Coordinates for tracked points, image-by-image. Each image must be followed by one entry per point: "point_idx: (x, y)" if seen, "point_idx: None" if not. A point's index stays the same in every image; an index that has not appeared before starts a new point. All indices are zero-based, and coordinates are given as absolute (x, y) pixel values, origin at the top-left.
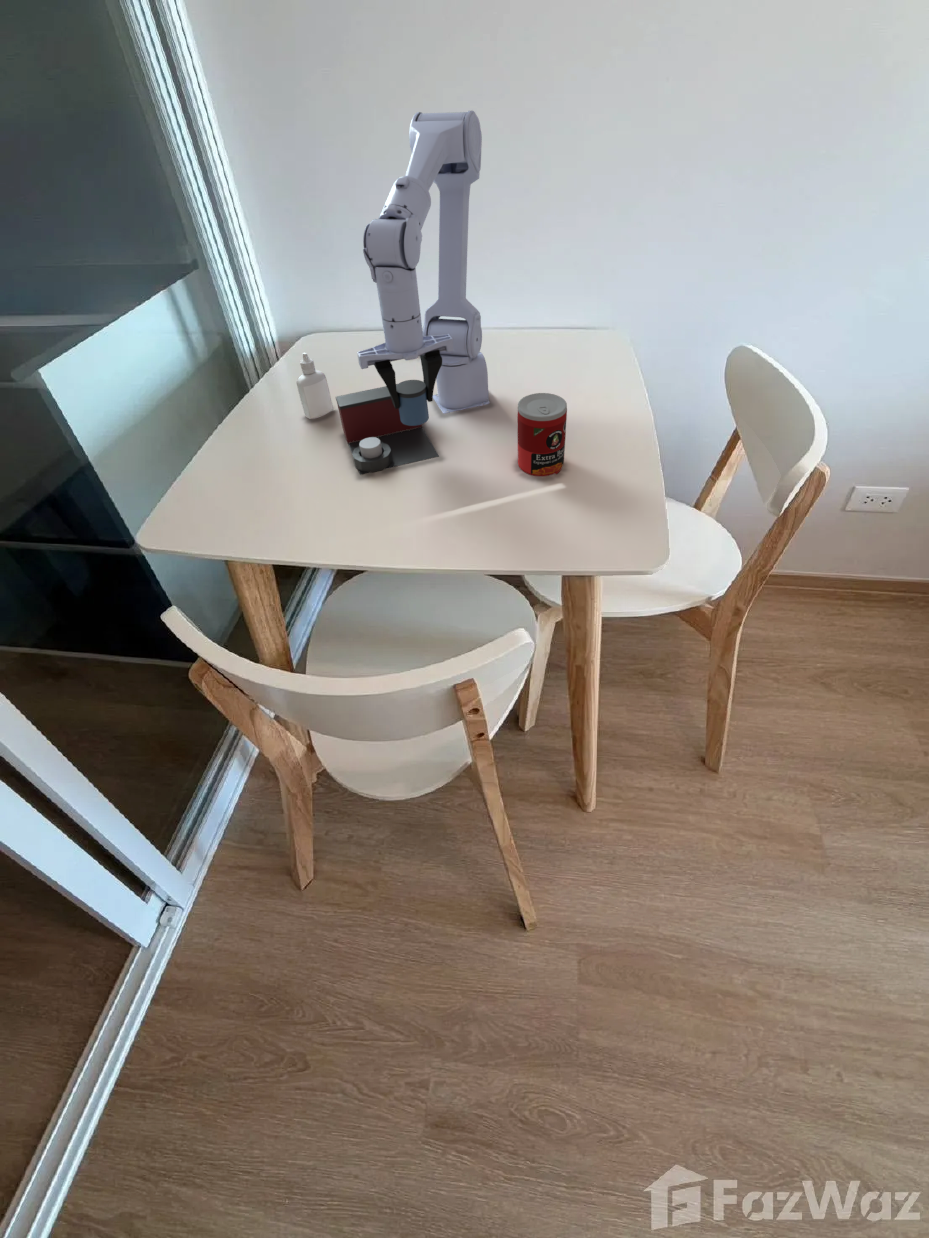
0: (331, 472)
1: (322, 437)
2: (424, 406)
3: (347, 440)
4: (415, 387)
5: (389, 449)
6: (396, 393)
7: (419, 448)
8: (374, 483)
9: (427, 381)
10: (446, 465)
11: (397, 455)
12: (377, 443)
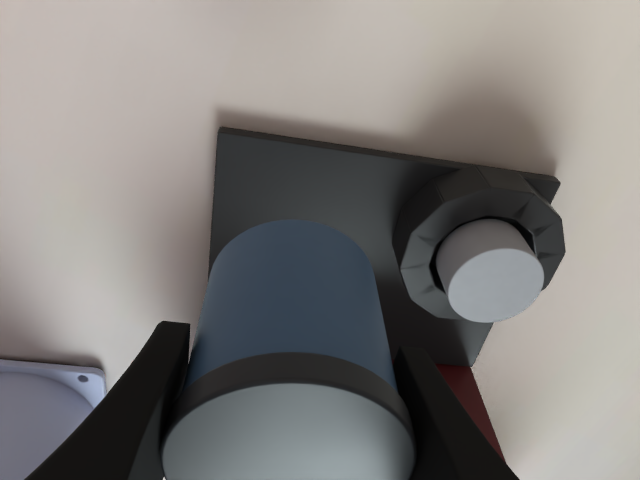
0: (607, 259)
1: (502, 425)
2: (236, 294)
3: (472, 376)
4: (259, 447)
5: (415, 238)
6: (445, 436)
7: None
8: (539, 110)
9: (142, 464)
10: (208, 64)
11: (370, 226)
12: (474, 267)
